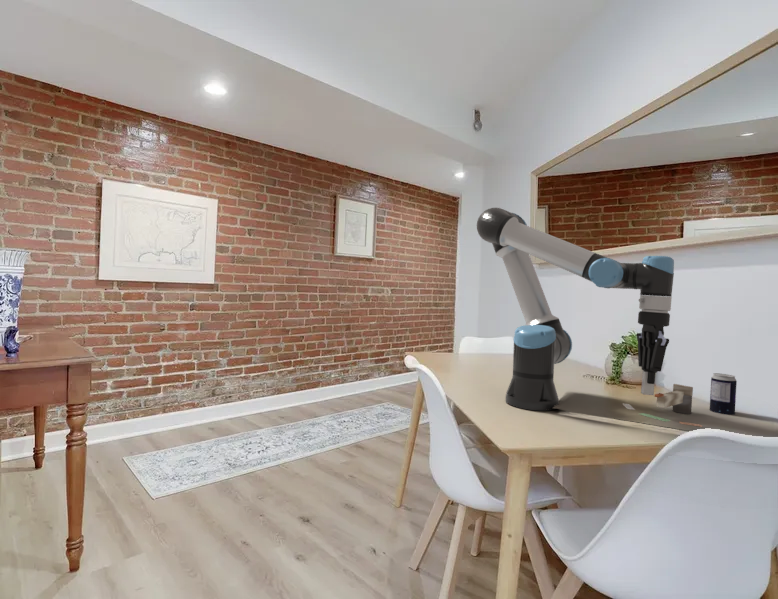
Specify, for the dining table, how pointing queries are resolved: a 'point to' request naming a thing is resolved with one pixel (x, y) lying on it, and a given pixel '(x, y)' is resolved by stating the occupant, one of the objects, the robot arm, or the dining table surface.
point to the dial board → (657, 418)
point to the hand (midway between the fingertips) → (647, 394)
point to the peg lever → (677, 399)
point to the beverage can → (723, 394)
